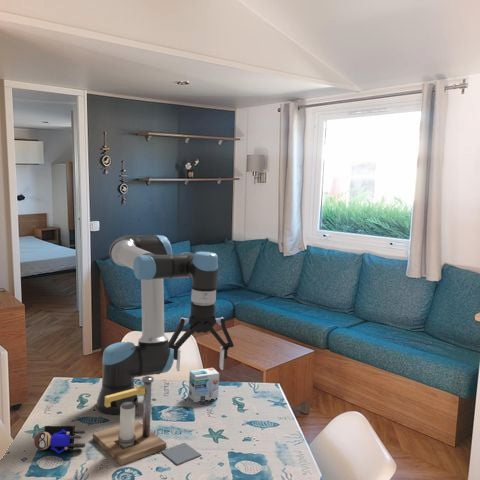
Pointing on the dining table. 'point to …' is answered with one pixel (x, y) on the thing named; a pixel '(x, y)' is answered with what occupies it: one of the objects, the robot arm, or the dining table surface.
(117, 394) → the bar
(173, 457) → the mat
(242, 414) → the dining table surface
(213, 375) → the light bulb box
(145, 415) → the post
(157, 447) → the socket board
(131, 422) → the plug
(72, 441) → the character figurine
